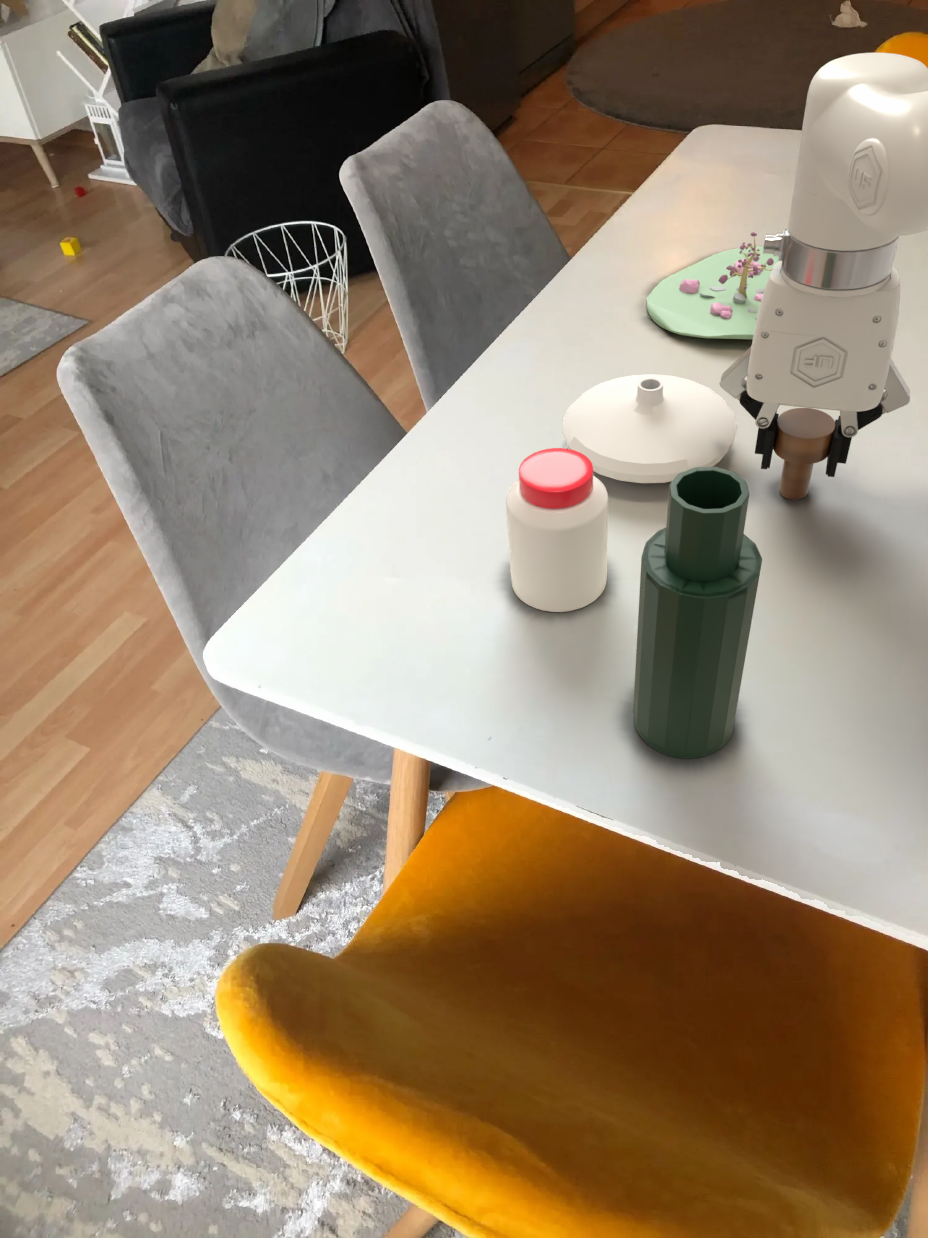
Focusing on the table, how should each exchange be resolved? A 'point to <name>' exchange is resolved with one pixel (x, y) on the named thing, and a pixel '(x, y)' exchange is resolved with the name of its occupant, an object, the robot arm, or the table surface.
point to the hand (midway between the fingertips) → (798, 461)
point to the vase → (649, 427)
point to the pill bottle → (557, 531)
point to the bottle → (695, 615)
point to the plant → (714, 295)
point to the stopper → (801, 447)
